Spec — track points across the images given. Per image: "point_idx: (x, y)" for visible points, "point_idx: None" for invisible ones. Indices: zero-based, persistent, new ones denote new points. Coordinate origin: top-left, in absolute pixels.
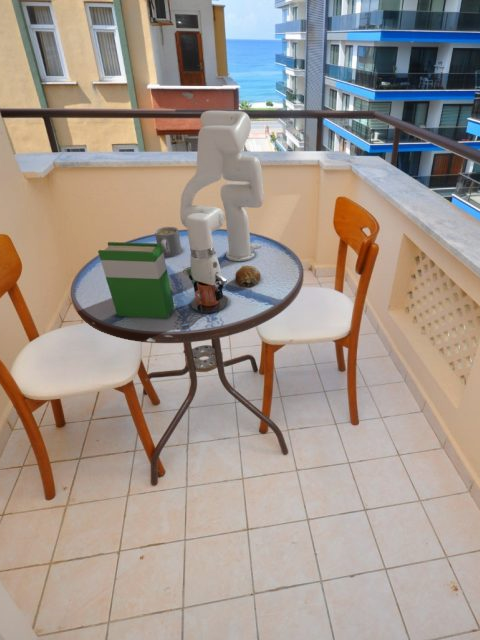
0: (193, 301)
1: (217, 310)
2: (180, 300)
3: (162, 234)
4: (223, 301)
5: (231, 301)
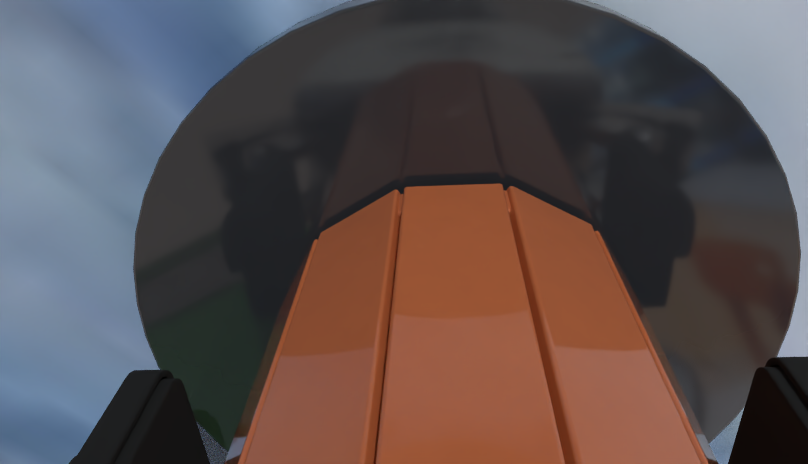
0: (226, 429)
1: (718, 418)
2: (23, 426)
3: None
4: (686, 206)
5: (792, 44)
